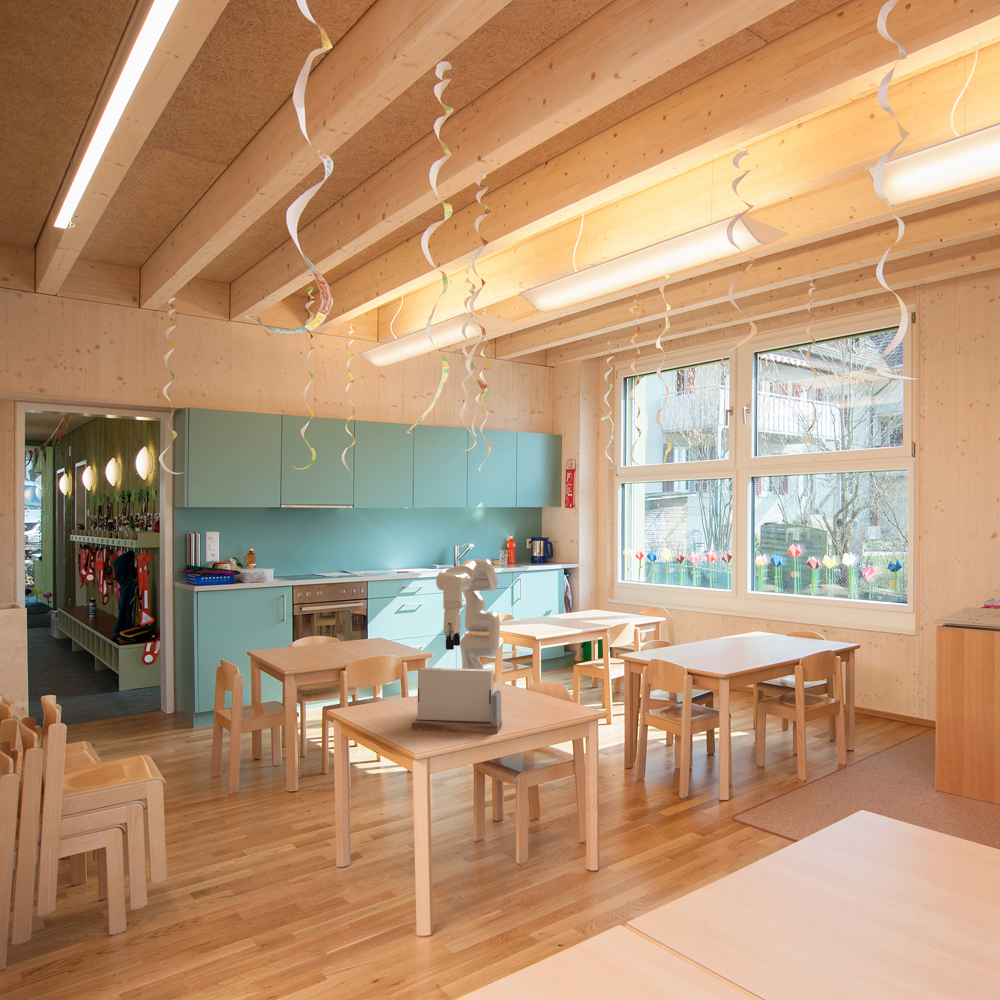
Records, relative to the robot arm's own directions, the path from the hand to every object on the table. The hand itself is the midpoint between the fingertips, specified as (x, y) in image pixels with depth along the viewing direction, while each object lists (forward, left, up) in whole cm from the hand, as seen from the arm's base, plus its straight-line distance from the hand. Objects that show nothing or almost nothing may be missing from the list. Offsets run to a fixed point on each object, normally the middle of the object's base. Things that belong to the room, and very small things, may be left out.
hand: (453, 647), depth 311 cm
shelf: (0, +2, -32) cm, 32 cm away
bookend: (0, +18, -30) cm, 35 cm away
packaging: (-3, 0, -30) cm, 30 cm away
